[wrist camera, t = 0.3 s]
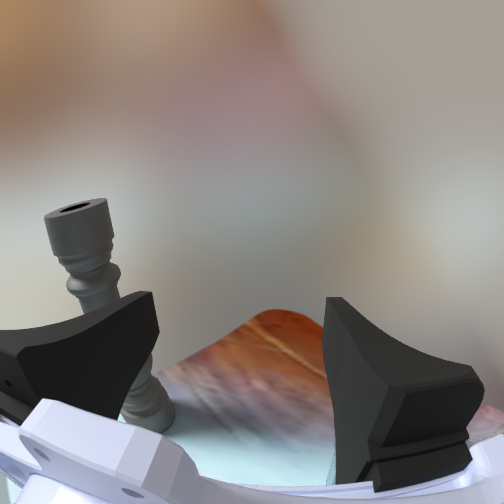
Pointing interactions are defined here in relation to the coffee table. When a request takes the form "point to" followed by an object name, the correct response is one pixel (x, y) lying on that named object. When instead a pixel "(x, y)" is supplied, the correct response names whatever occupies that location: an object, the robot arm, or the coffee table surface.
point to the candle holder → (104, 295)
